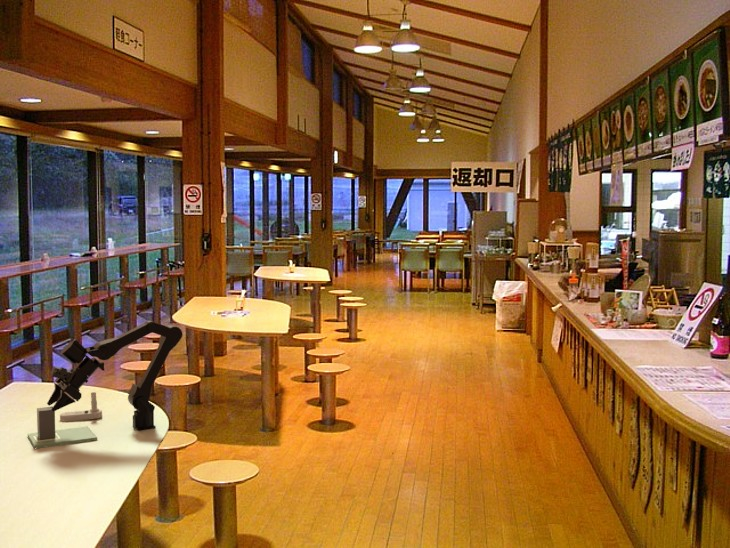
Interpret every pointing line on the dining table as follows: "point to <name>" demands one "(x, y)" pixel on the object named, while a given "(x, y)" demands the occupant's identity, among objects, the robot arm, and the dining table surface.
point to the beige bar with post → (83, 412)
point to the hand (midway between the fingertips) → (50, 407)
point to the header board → (64, 437)
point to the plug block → (45, 423)
